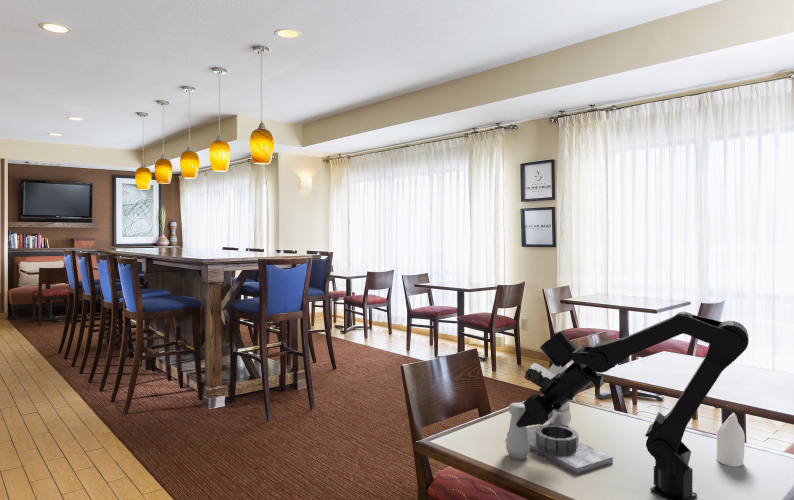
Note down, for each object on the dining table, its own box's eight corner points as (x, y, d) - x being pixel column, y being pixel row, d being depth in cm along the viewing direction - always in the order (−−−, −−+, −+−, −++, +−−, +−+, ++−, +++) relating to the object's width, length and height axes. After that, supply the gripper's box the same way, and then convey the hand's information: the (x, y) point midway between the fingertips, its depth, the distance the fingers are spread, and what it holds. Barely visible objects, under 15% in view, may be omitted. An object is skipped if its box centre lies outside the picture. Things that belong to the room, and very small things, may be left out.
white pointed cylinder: (716, 406, 126) (744, 410, 123) (716, 454, 126) (743, 459, 124) (717, 413, 121) (745, 417, 118) (716, 463, 121) (745, 469, 118)
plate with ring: (612, 463, 122) (612, 444, 122) (576, 474, 117) (576, 455, 117) (540, 429, 143) (540, 414, 143) (507, 438, 138) (507, 421, 138)
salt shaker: (530, 462, 123) (530, 408, 123) (506, 460, 124) (506, 407, 124) (529, 452, 129) (529, 401, 129) (506, 450, 130) (505, 399, 130)
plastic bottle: (547, 428, 144) (547, 358, 144) (547, 420, 151) (547, 352, 150) (571, 430, 143) (571, 359, 142) (570, 422, 149) (570, 353, 148)
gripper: (557, 347, 130) (515, 383, 136) (532, 363, 114) (486, 403, 121) (590, 383, 126) (545, 418, 132) (568, 404, 110) (518, 443, 117)
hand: (524, 419), depth 125 cm, fingers open, 9 cm apart
